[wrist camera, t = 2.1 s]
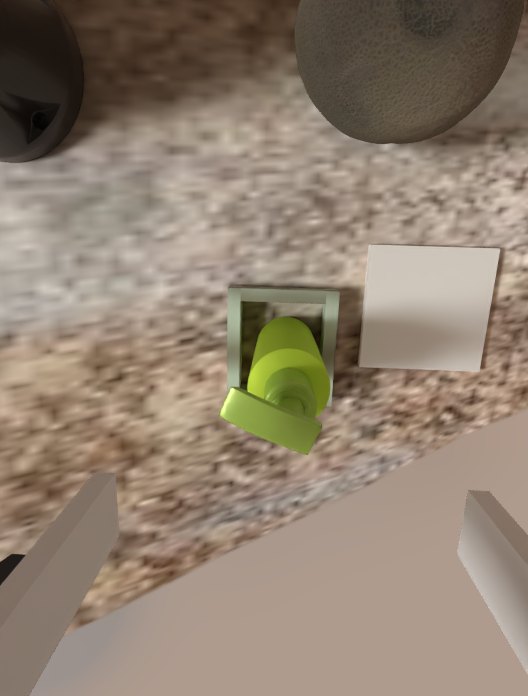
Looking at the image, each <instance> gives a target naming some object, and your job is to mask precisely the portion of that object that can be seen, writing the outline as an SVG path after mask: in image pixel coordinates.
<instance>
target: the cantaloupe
mask: <svg viewBox="0 0 528 696" xmlns="http://www.w3.org/2000/svg"><path fill="white" fill-rule="evenodd" d="M523 8H524V0H300V2H299V7H298V11H297V15H296V22H295V48H296V57H297V63H298V68H299V72H300V75H301V78H302V81H303V83H304V86H305V89H306V91H307V93H308V95H309V97H310V99H311V100H312V102H313V103H314V105H315V106H316V108H317V109H318V110H319V111H320V112H321V113H322V115H323V116H324V117H325V118H326V119H327V120H328V121H329V122H330V123H331V124H332V125H333V126H335V127H336V128H337V129H338V130H340V131H341V132H342V133H344V134H346V135H348V136H349V137H352V138H355V139H358V140H362V141H365V142H370V143H376V144H388V143H396V144H402V143H413V142H418V141H422V140H425V139H428V138H431V137H433V136H436V135H438V134H440V133H443V132H444V131H446V130H448V129H450V128H451V127H453V126H454V125H456V124H457V123H458V122H459V121H461V120H462V119H463V118H464V117H466V116H467V115H468V114H469V113H470V112H471V111H473V110H474V109H475V108H476V107H477V106H478V105H479V104H480V103H481V102H482V101H483V100H484V99H485V98H486V97H487V95H488V94H489V93H490V92H491V90H492V89H493V88H494V86H495V85H496V83H497V81H498V80H499V78H500V76H501V74H502V73H503V71H504V69H505V67H506V65H507V62H508V60H509V58H510V54H511V51H512V48H513V45H514V43H515V40H516V37H517V33H518V29H519V25H520V21H521V17H522V13H523Z"/></svg>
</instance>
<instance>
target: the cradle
mask: <svg viewBox="0 0 528 696" xmlns="http://www.w3.org/2000/svg"><path fill="white" fill-rule="evenodd" d="M339 296H340V291H338V290H337V289H325V288H295V287H265V286H235V285H231V286H229V287H228V329H227V394H228V392H229V390H230V388H231V387H240V388H242V389H244V390H246V391H247V384H248V383H241V376H242V315H243V301H253V302H282V303H311V304H323V308H322V323H321V338H320V355H321V357H322V360H323V362H324V365H325V368H326V370H327V373H328V375H329V379H330V387H331V388H330V396H329V399H328V402H327V404H326V406H331V400H332V387H333V374H334V361H335V348H336V335H337V322H338V309H339Z"/></svg>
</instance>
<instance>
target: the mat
mask: <svg viewBox="0 0 528 696" xmlns="http://www.w3.org/2000/svg"><path fill="white" fill-rule="evenodd" d="M499 254H500V248H467V247H434V246H401V245H369V247H368V258H367V268H366V279H365V290H364V301H363V312H362V323H361V334H360V345H359V356H358V366H359V367H371V368H397V369H423V370H449V371H475V372H479V371H480V365H481V359H482V353H483V348H484V342H485V336H486V330H487V324H488V318H489V312H490V307H491V301H492V295H493V289H494V283H495V277H496V272H497V266H498V260H499Z"/></svg>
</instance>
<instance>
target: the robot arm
mask: <svg viewBox="0 0 528 696" xmlns="http://www.w3.org/2000/svg"><path fill="white" fill-rule="evenodd" d="M83 82H84V78H83V65H82V59H81V54H80V50H79V47H78V43H77V41H76V38H75V35H74V33H73V31H72V29H71V27H70V25H69V23H68V21H67V19H66V18H65V16H64V14H63V13H62V12H61V10H60V9H59V7H58V6H57V5H56V4H55V3H54V1H53V0H0V162H10V163H13V162H24V161H29V160H32V159H35V158H38V157H40V156H42V155H44V154H46V153H48V152H49V151H51V150H52V149H53V148H55V147H56V146H57V145H58V144H59V143H60V142H61V141H62V140H63V139H64V138H65V136H66V135H67V134H68V132H69V131H70V129H71V127H72V126H73V124H74V122H75V120H76V117H77V115H78V112H79V109H80V105H81V101H82V95H83ZM118 537H119V522H118V508H117V493H116V478H115V473H102V472H95V473H94V474H93V475H92V477H91V478H90V479H89V480H88V481H87V483H86V484H85V485H84V486H83V487H82V489H81V490H80V491H79V492H78V493H77V495H76V496H75V497H74V498H73V499H72V500H71V502H70V503H69V504H68V505H67V506H66V508H65V509H64V510H63V511H62V512H61V514H60V515H59V516H58V517H57V518H56V520H55V521H54V522H53V523H52V524H51V526H50V527H49V528H48V529H47V530H46V532H45V533H44V534H43V535H42V536H41V538H40V539H39V540H38V541H37V542H36V544H35V545H34V546H33V547H32V548H31V550H30V551H29V552H28V553H27V554H26V555H21V554H11V555H10V556H8V557H7V558H5V559H4V560H3V561H1V562H0V696H29V695H30V693H31V692H32V690H33V688H34V686H35V685H36V683H37V681H38V679H39V677H40V676H41V674H42V672H43V670H44V669H45V667H46V665H47V663H48V661H49V660H50V658H51V656H52V654H53V652H54V651H55V649H56V647H57V646H58V644H59V642H60V640H61V638H62V637H63V635H64V633H65V631H66V630H67V628H68V626H69V624H70V623H71V621H72V619H73V617H74V615H75V614H76V612H77V610H78V608H79V607H80V605H81V603H82V601H83V599H84V598H85V596H86V594H87V592H88V591H89V589H90V587H91V585H92V583H93V582H94V580H95V578H96V576H97V575H98V573H99V571H100V569H101V568H102V566H103V564H104V562H105V560H106V559H107V557H108V555H109V553H110V552H111V550H112V548H113V546H114V544H115V543H116V541H117V539H118ZM457 555H458V556H459V558H460V560H461V561H462V563H463V565H464V566H465V568H466V570H467V572H468V573H469V575H470V577H471V578H472V580H473V582H474V583H475V585H476V587H477V589H478V590H479V592H480V594H481V595H482V597H483V599H484V600H485V602H486V604H487V606H488V607H489V609H490V611H491V612H492V614H493V616H494V618H495V619H496V621H497V623H498V624H499V626H500V628H501V629H502V631H503V633H504V635H505V636H506V638H507V640H508V641H509V643H510V645H511V646H512V648H513V650H514V651H515V653H516V655H517V657H518V658H519V660H520V662H521V664H522V665H523V667H524V668H525V670H526V672H527V674H528V535H527V534H526V533H525V532H524V530H523V529H522V528H521V527H520V526H519V525H518V524H517V522H516V521H515V520H514V519H513V518H512V517H511V516H510V514H509V513H508V512H507V511H506V510H505V509H504V508H503V507H502V505H501V504H500V503H499V502H498V501H497V500H496V498H495V497H494V496H493V495H492V494H491V493H490V492H489V491H474V490H468V493H467V499H466V505H465V511H464V517H463V522H462V528H461V535H460V539H459V546H458V551H457Z"/></svg>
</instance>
